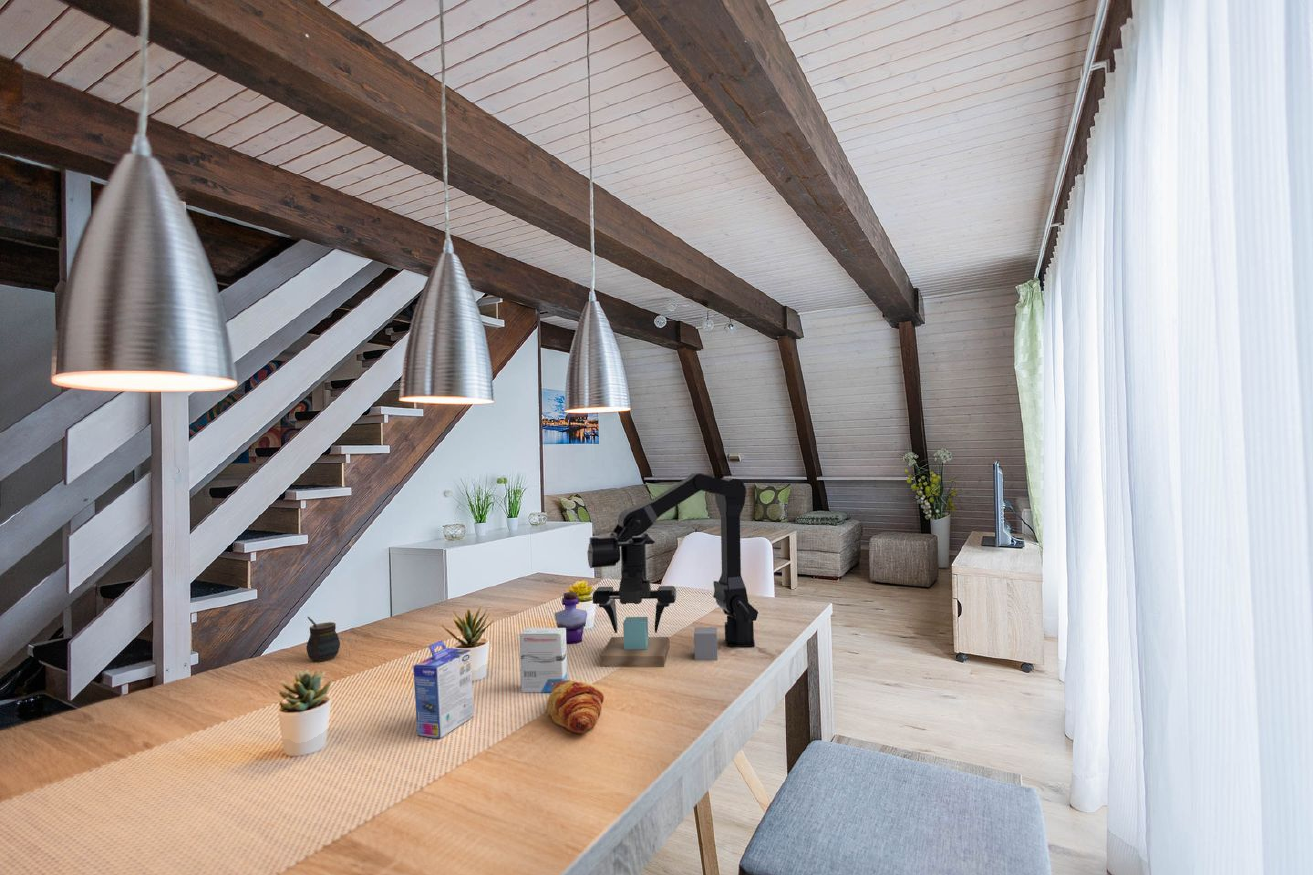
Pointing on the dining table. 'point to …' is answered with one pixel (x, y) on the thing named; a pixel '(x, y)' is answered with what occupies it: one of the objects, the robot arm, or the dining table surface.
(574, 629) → the potion bottle
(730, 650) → the dining table surface
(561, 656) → the ink box
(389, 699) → the dining table surface
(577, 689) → the croissant
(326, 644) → the mate gourd
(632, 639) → the teal block
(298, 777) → the dining table surface
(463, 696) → the ink cartridge box
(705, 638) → the gray block
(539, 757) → the dining table surface
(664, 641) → the walnut slab
